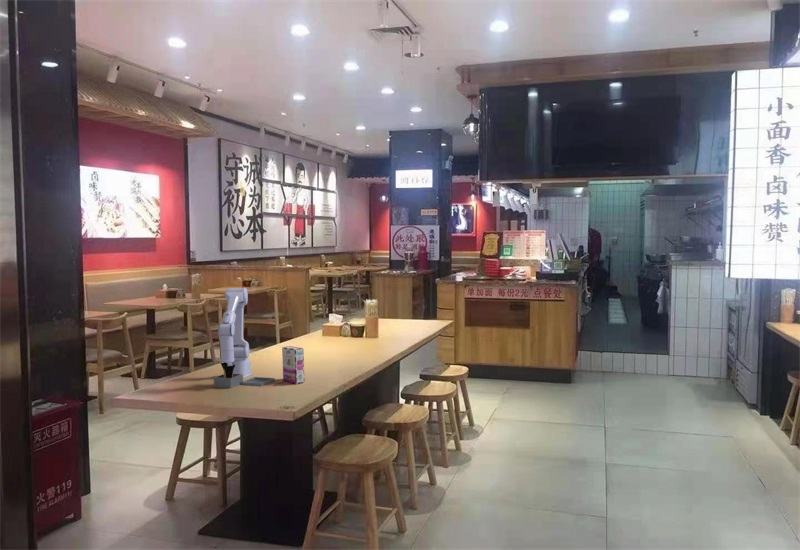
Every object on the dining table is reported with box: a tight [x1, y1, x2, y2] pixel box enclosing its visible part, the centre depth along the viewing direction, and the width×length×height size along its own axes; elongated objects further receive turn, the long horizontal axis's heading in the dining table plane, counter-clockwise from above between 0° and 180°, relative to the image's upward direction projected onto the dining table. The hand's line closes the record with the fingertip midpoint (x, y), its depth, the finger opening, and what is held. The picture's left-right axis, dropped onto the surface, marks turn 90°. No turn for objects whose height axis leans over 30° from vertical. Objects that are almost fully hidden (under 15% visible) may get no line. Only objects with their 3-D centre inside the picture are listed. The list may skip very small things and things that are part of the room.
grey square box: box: [213, 373, 244, 389], centre depth 283 cm, size 9×9×5 cm
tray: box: [241, 376, 276, 387], centre depth 286 cm, size 11×11×2 cm
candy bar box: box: [281, 345, 305, 385], centre depth 288 cm, size 11×5×16 cm, turn 45°
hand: (228, 378), depth 283 cm, fingers closed on dowel, 4 cm apart
